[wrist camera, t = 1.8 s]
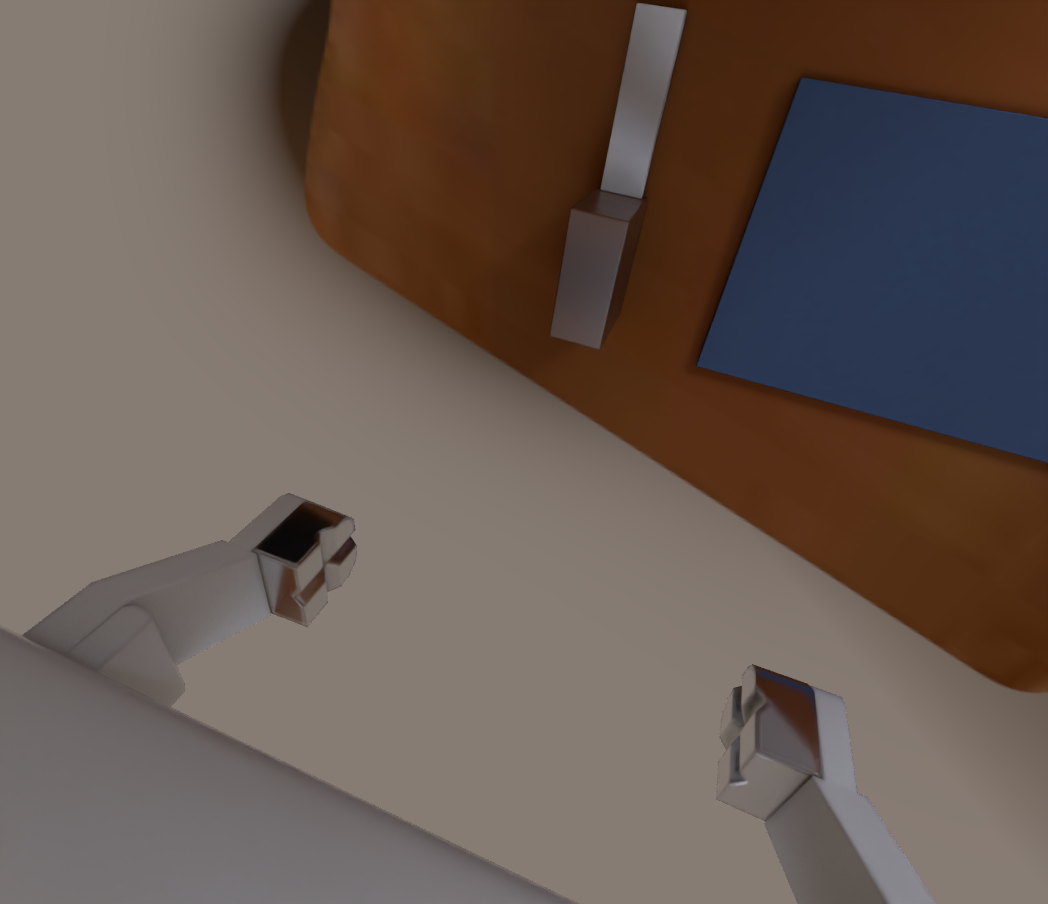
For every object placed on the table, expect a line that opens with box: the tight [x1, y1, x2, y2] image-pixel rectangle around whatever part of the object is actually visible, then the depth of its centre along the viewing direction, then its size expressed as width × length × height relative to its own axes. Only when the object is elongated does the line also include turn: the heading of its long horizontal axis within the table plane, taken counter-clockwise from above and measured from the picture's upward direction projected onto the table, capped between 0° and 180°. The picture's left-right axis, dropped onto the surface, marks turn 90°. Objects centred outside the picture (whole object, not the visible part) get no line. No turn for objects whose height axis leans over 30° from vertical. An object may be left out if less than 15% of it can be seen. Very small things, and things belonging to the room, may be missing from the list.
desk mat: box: [697, 77, 1048, 463], centre depth 24 cm, size 13×20×1 cm, turn 83°
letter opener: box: [550, 3, 687, 350], centre depth 24 cm, size 13×3×5 cm, turn 173°
